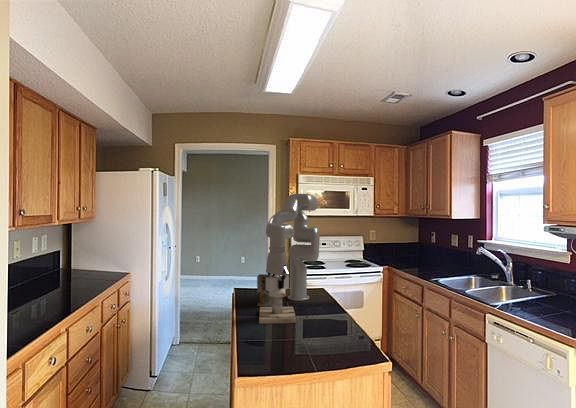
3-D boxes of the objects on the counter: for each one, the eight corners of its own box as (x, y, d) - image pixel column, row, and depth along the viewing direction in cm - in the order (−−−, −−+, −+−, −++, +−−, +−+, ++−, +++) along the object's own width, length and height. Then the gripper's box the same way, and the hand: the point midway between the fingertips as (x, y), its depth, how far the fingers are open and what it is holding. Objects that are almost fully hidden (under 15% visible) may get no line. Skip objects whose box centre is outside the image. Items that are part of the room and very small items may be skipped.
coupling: (263, 295, 170) (263, 276, 170) (281, 292, 176) (281, 274, 177) (275, 299, 161) (276, 280, 161) (294, 296, 168) (294, 277, 168)
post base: (260, 311, 179) (260, 291, 179) (293, 310, 180) (293, 291, 180) (259, 323, 159) (259, 301, 159) (296, 323, 160) (296, 301, 160)
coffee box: (275, 303, 194) (275, 274, 194) (273, 306, 188) (273, 276, 188) (258, 302, 195) (259, 273, 195) (256, 306, 188) (256, 276, 189)
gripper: (259, 249, 173) (259, 286, 173) (285, 252, 162) (284, 291, 161) (270, 248, 179) (269, 284, 178) (295, 250, 167) (295, 288, 167)
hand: (277, 287), depth 170 cm, fingers closed on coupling, 4 cm apart
